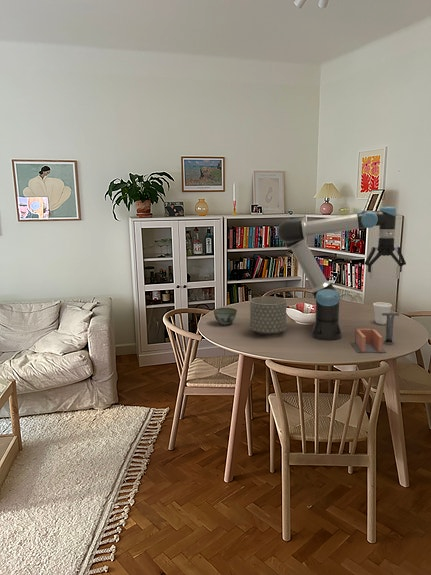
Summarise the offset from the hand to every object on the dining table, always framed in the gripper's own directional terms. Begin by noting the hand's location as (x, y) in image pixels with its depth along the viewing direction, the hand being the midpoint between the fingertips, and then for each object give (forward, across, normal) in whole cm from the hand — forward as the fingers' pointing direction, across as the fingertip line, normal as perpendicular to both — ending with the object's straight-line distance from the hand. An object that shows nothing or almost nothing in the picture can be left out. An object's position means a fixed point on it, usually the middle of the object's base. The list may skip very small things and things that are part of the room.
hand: (384, 278), depth 218 cm
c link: (+28, -14, -26) cm, 41 cm away
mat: (+29, -14, -26) cm, 41 cm away
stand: (+29, -2, -19) cm, 34 cm away
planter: (+29, -60, -4) cm, 67 cm away
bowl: (+29, -84, +14) cm, 90 cm away
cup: (+29, +5, +16) cm, 33 cm away
